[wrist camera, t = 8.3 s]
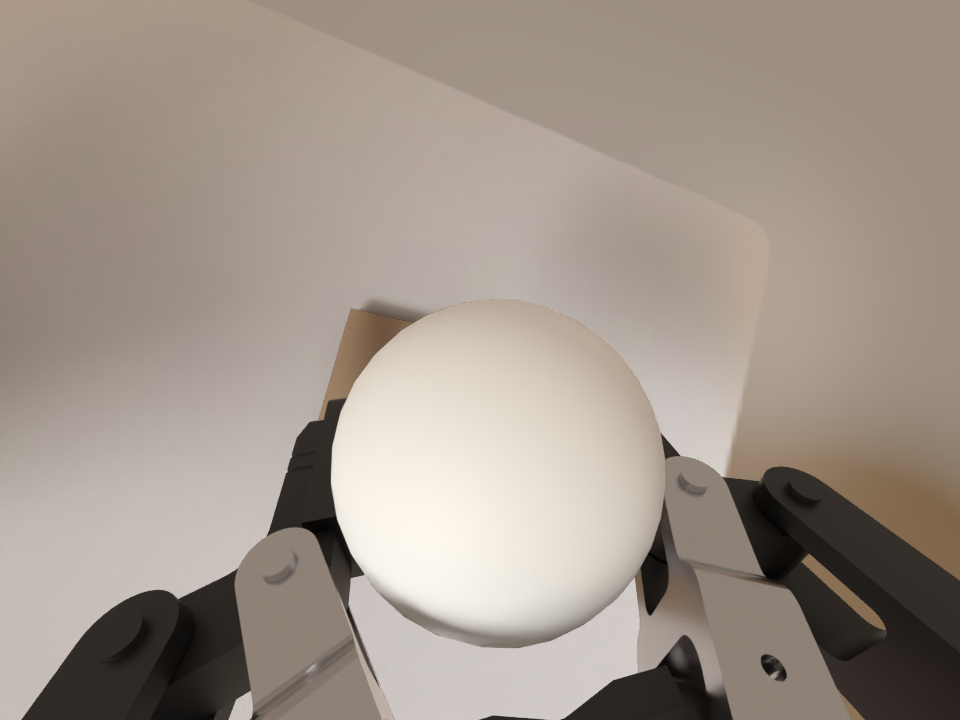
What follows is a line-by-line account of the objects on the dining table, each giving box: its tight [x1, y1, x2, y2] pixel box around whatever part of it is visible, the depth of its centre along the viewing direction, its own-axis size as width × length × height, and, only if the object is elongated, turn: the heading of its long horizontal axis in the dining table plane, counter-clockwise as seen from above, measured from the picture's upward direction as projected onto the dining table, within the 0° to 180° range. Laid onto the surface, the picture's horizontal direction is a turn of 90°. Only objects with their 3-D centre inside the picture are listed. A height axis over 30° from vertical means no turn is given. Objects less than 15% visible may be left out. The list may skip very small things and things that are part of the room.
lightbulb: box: [331, 299, 666, 648], centre depth 9 cm, size 6×6×11 cm
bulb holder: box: [318, 309, 413, 421], centre depth 25 cm, size 18×16×4 cm
